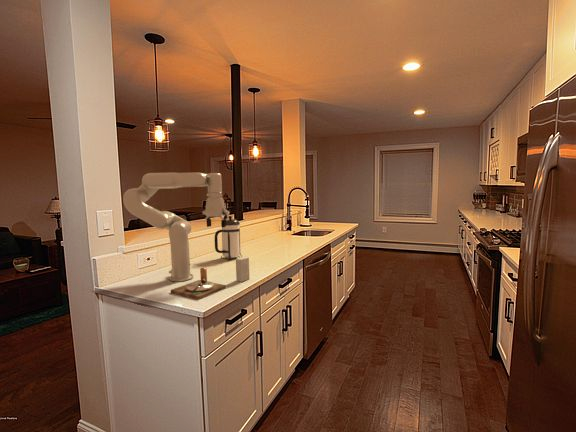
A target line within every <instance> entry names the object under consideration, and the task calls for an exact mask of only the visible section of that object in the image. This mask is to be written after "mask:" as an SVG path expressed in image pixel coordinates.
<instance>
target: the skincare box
mask: <svg viewBox="0 0 576 432" xmlns="http://www.w3.org/2000/svg"><path fill="white" fill-rule="evenodd" d="M240 257H241V256H240ZM240 257H238V258H237V257H236V258H235V275H236V276H235V277H236V281H237V282H241V283H242V282H245V281H248V280H250V259H249V257H247V256H242V257H241V258H240Z"/></svg>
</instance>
